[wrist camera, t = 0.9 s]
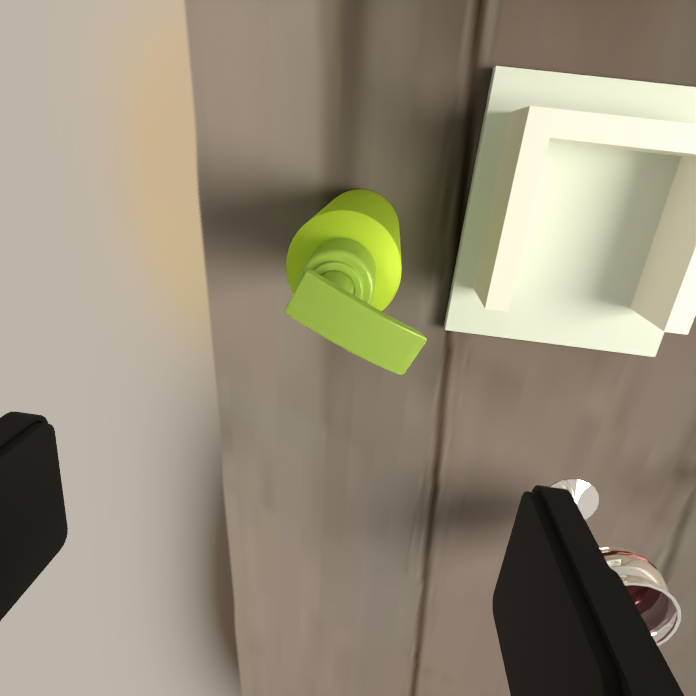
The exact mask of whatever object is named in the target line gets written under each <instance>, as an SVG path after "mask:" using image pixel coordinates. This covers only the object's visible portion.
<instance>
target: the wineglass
mask: <svg viewBox="0 0 696 696" xmlns="http://www.w3.org/2000/svg"><path fill="white" fill-rule="evenodd" d="M551 487H554V488H561V489H566V490H569V492H570V493H571V495H572V496H573V498H574V500H575V502H576V504H577V506H578V508H579V510H580V512H581V514H582V516H583V518H584V519H585V520H586V519H587V518H588V517H590V516H591V515H592V514H593V513H594V512H595V510H596V509H597V506H598V503H599V497H598V493H597V491H596V489H595V488H594V487H593V486H592V485H590V484H589V483H587V482H585V481H582V480H576V479H568V480H562V481H560V482H557V483H555V484H553V485H552V486H551ZM599 548H600V550H601V552H602V554H603V556H604V558H605V560H606V562H607V563H608V565H609V567H610V568H611V569H613V570H614V571H616V572H617V573H618V575H619V576H620V578H621V579H622V581H623V583H624V585H625V586H626V588H627V590H628V592H629V594H630V596H631V598H632V599H633V601H634V603H635V605H636V607H637V609H638V611H639V613H640V614H641V616H642V618H643V620H644V622H645V624H646V626H647V627H648V629H649V631H650V633H651V635H652V637H653V639H654V640H655V642H656V644H657V646H659V645H660V644H662V643H664V642H665V641H667V640H668V639H669V638H670V637H671V636H672V635H673V634H674V633H675V632H676V630H677V628H678V626H679V623H680V621H681V610H680V607H679V605H678V603H677V601H676V600H675V598H674V597H673V596H671V595H670V594H669V591H668V588H667V585H666V582H665V581H664V579H663V577H662V575H661V574H660V572H659V571H658V570H657V568H656V567H655V566H654V565H653V564H651V563H650V562H649V561H648V560H646V559H645V558H644V557H642V556H641V555H639V554H638V553H637V552H634V551H631V550H629V549H626V548H620V547H609V546H603V547H599Z"/></svg>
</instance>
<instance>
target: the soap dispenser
mask: <svg viewBox="0 0 696 696" xmlns="http://www.w3.org/2000/svg"><path fill="white" fill-rule="evenodd" d="M286 273H287V278H288V282H289V285H290V288H291V290H292V292H293V296H292V298H291V300H290V302H289V303H288V305H287V307H286V309H285V311H284V313H285V314H287V315H288V316H290V317H292V318H293V319H295V320H296V321H298V322H300V323H301V324H303V325H305V326H306V327H308V328H310V329H311V330H313V331H315V332H316V333H318V334H320V335H321V336H323V337H325V338H326V339H328V340H330V341H332V342H333V343H335V344H337V345H339V346H340V347H342V348H344V349H346V350H348V351H349V352H351V353H353V354H355V355H357V356H359V357H361V358H363V359H365V360H367V361H369V362H371V363H373V364H375V365H378V366H380V367H382V368H384V369H387V370H389V371H391V372H394V373H396V374H399V375H403V374H404V373H405V372H406V370H407V369H408V367H409V366H410V364H411V363H412V362H413V360H414V359H415V357H416V356H417V354H418V353H419V351H420V350H421V348H422V347H423V346H424V344H425V343H426V341H427V339H426V338H425V337H424V336H423V335H422V334H421V333H420V332H419V331H417V330H416V329H414V328H412V327H410V326H408V325H406V324H404V323H402V322H400V321H398V320H396V319H394V318H392V317H391V316H389V315H387V314H385V313H383V312H382V311H383V310H384V309H385V308H386V307H387V306H388V305H389V303H390V302H391V301H392V299H393V298H394V296H395V294H396V292H397V290H398V287H399V284H400V280H401V273H402V263H401V246H400V229H399V221H398V217H397V214H396V212H395V210H394V208H393V207H392V205H391V204H390V203H389V202H388V201H387V200H386V199H385V198H384V197H383V196H381V195H380V194H378V193H376V192H373V191H370V190H365V189H355V190H350V191H347V192H344V193H342V194H340V195H339V196H337V197H336V198H335V199H334V200H332V201H331V202H330V203H329V204H328V205H327V206H325V207H324V208H323V209H322V210H321V211H320V212H318V213H317V214H316V215H315V216H314V217H312V218H311V219H310V220H309V221H308V222H307V223H305V224H304V225H303V226H302V227H301V228H300V229H299V231H298V232H297V233H296V235H295V236H294V238H293V240H292V242H291V244H290V247H289V250H288V253H287V259H286Z"/></svg>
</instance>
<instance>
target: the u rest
mask: <svg viewBox="0 0 696 696" xmlns="http://www.w3.org/2000/svg"><path fill="white" fill-rule="evenodd" d="M695 315H696V87H689V86H679V85H670V84H661V83H651V82H642V81H633V80H623V79H614V78H605V77H595V76H586V75H577V74H567V73H558V72H549V71H539V70H530V69H521V68H511V67H502V66H495V67H494V68H493V72H492V77H491V82H490V87H489V93H488V98H487V103H486V108H485V114H484V119H483V124H482V129H481V134H480V140H479V145H478V150H477V155H476V161H475V166H474V171H473V176H472V182H471V187H470V192H469V197H468V202H467V208H466V213H465V218H464V223H463V229H462V234H461V239H460V244H459V249H458V255H457V260H456V265H455V270H454V276H453V281H452V286H451V291H450V296H449V302H448V307H447V312H446V317H445V323H444V328H445V330H450V331H458V332H465V333H473V334H481V335H489V336H496V337H504V338H512V339H520V340H527V341H535V342H543V343H551V344H558V345H566V346H574V347H581V348H589V349H597V350H605V351H612V352H620V353H628V354H636V355H643V356H651V357H655V356H656V353H657V350H658V348H659V345H660V342H661V340H662V337H663V334H664V332H671V333H679V334H687V335H688V333H689V330H690V328H691V325H692V323H693V320H694V317H695Z"/></svg>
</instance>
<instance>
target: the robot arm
mask: <svg viewBox="0 0 696 696" xmlns="http://www.w3.org/2000/svg"><path fill="white" fill-rule="evenodd" d="M66 537H67V521H66V514H65V506H64V498H63V491H62V483H61V475H60V468H59V460H58V453H57V445H56V437H55V431H54V428H53V426H52V425H50V424H48V422H47V420H46V418H45V417H43V416H41V415H35V414H28V413H21V412H10V413H7V414H5V415H4V416H2V417H1V418H0V621H1V619H2V618H3V617H4V616H5V615H6V614H7V612H8V611H9V610H10V609H11V608H12V606H13V605H14V604H15V603H16V602H17V600H18V599H19V598H20V597H21V596H22V594H23V593H24V592H25V591H26V590H27V589H28V587H29V586H30V585H31V584H32V583H33V582H34V580H35V579H36V578H37V577H38V576H39V574H40V573H41V572H42V571H43V570H44V568H45V567H46V566H47V565H48V564H49V562H50V561H51V560H52V559H53V558H54V557H55V555H56V554H57V553H58V552H59V551H60V549H61V548H62V546H63V545H64V543H65V540H66ZM493 615H494V620H495V624H496V629H497V634H498V638H499V643H500V648H501V652H502V657H503V661H504V666H505V671H506V675H507V680H508V684H509V689H510V694H511V696H684V695H683V693H682V691H681V689H680V687H679V685H678V683H677V681H676V680H675V678H674V676H673V674H672V672H671V670H670V668H669V667H668V665H667V663H666V661H665V659H664V657H663V655H662V654H661V652H660V650H659V648H658V646H657V644H656V642H655V640H654V639H653V637H652V635H651V633H650V631H649V629H648V627H647V626H646V624H645V622H644V620H643V618H642V616H641V614H640V613H639V611H638V609H637V607H636V605H635V603H634V601H633V599H632V598H631V596H630V594H629V592H628V590H627V588H626V586H625V585H624V583H623V581H622V579H621V578H620V576H619V575H618V573H617V572H616V571H614V570H613V569H611V568H610V567H609V565H608V563H607V562H606V560H605V558H604V556H603V554H602V552H601V550H600V548H599V546H598V544H597V542H596V540H595V539H594V537H593V535H592V533H591V531H590V529H589V527H588V525H587V523H586V521H585V519H584V518H583V516H582V514H581V512H580V510H579V508H578V506H577V504H576V502H575V500H574V498H573V496H572V495H571V493H570V492H569V490H566V489H561V488H554V487H547V486H540V485H537V486H535V487H534V489H533V490H532V492H527V491H526V492H524V494H523V495H522V498H521V502H520V505H519V508H518V512H517V515H516V519H515V522H514V526H513V529H512V533H511V536H510V539H509V543H508V546H507V550H506V553H505V557H504V560H503V563H502V567H501V570H500V574H499V577H498V581H497V584H496V587H495V591H494V595H493Z"/></svg>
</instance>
